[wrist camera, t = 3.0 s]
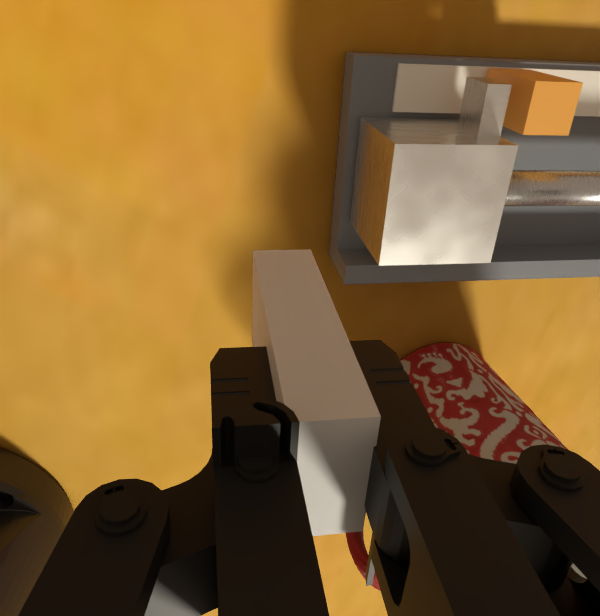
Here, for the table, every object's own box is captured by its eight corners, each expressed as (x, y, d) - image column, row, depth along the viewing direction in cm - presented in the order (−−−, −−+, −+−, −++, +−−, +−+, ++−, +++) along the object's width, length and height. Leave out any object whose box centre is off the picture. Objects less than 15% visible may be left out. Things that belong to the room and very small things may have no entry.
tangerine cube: (478, 115, 26) (522, 135, 22) (488, 67, 25) (535, 80, 21) (518, 115, 26) (568, 135, 23) (529, 69, 25) (583, 82, 22)
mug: (496, 308, 34) (654, 475, 22) (504, 416, 39) (638, 600, 27) (297, 370, 34) (351, 570, 22) (329, 471, 38) (388, 679, 27)
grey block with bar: (349, 222, 28) (378, 265, 23) (365, 68, 24) (402, 86, 20) (693, 218, 31) (773, 255, 27) (750, 82, 27) (852, 100, 23)
